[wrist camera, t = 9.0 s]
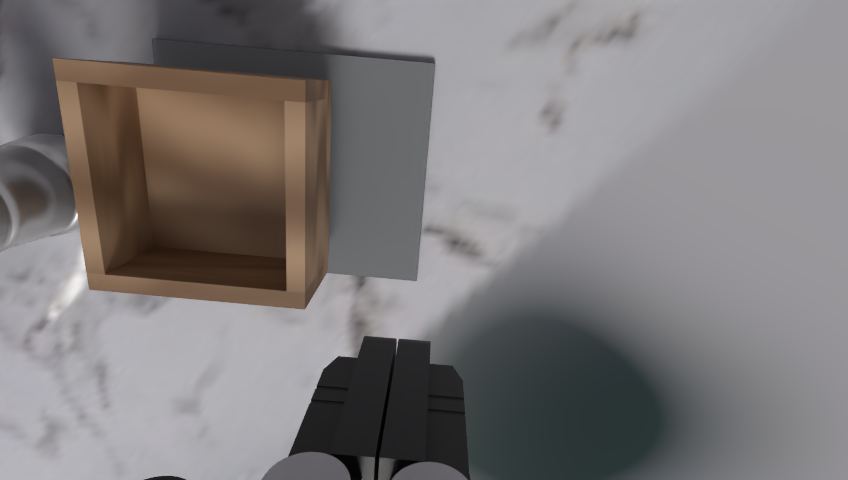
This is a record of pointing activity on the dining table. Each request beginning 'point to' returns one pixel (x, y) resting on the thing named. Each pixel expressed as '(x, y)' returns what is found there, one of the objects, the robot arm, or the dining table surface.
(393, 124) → the gray mat
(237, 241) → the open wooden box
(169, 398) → the dining table surface
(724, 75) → the dining table surface
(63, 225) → the plastic bottle
